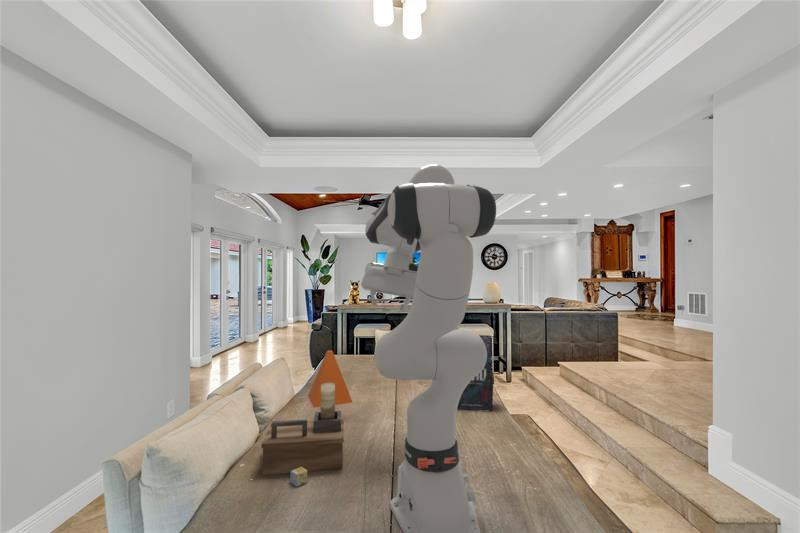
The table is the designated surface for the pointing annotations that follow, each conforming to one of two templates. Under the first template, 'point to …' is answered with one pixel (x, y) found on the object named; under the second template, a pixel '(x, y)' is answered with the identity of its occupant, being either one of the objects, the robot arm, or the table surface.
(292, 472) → the alphabet block
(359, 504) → the table surface
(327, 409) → the dowel key
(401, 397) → the table surface
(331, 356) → the pyramid
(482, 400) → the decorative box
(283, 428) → the toolbox
